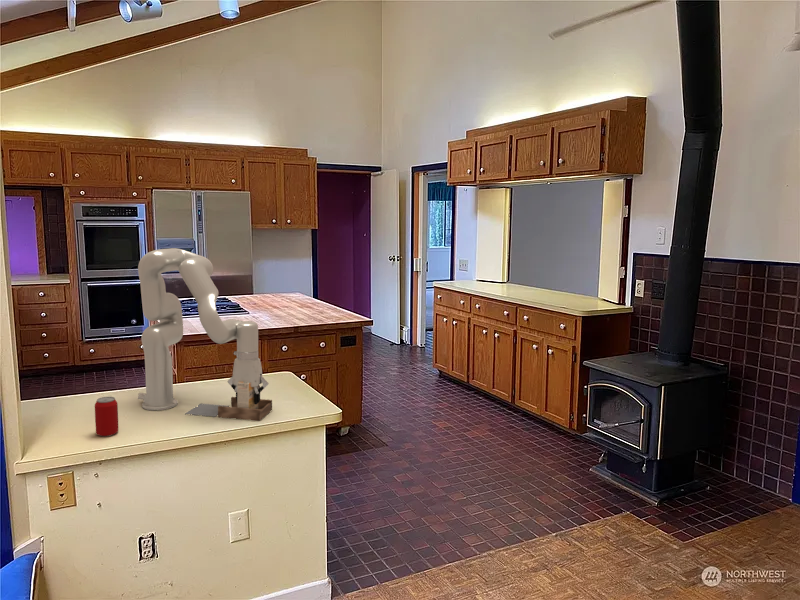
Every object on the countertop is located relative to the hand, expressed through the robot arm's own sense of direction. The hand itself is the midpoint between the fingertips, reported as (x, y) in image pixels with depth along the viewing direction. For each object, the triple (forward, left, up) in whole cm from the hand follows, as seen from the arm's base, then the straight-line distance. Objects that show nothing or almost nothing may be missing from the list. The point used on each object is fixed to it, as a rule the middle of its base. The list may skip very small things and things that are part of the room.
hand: (248, 402), depth 217 cm
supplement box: (0, 0, -5) cm, 5 cm away
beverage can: (-37, -29, -5) cm, 47 cm away
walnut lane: (-1, 0, -5) cm, 5 cm away
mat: (-16, 0, -5) cm, 17 cm away
